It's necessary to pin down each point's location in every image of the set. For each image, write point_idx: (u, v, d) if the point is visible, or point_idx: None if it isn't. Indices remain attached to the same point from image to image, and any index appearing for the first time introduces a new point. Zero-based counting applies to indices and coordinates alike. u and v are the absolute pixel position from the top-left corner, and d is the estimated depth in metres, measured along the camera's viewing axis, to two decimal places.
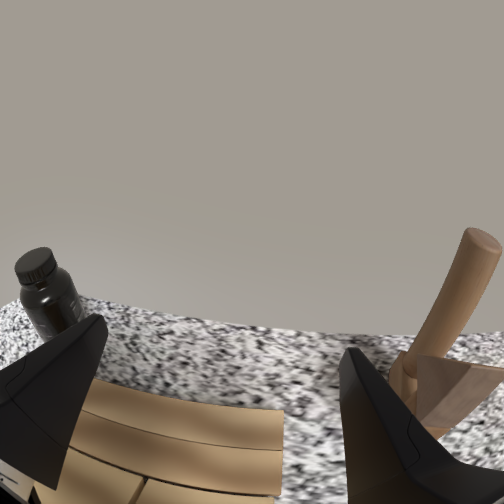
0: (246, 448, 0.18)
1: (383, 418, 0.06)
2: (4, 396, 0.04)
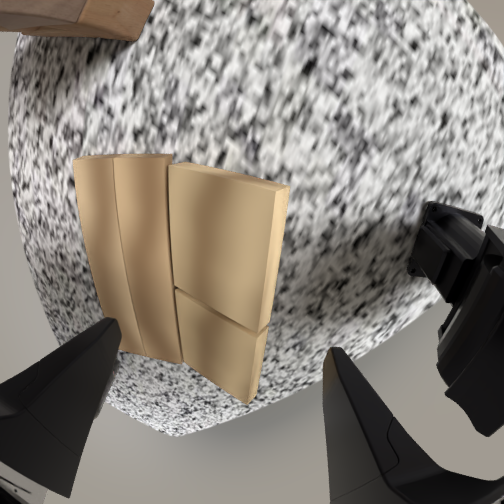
0: (115, 196, 0.18)
1: (362, 420, 0.06)
2: (18, 405, 0.04)
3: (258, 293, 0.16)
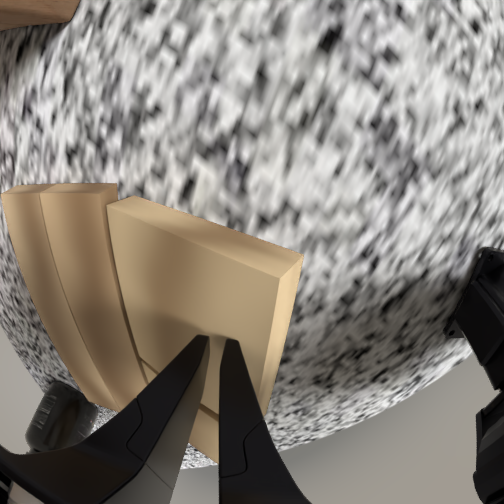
0: (50, 244, 0.12)
1: (221, 416, 0.06)
2: (131, 460, 0.04)
3: None
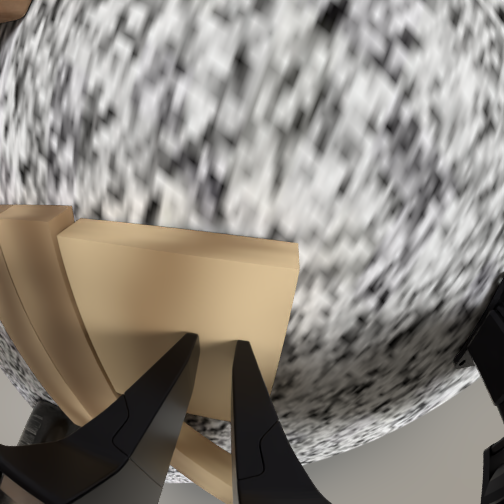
0: (10, 274, 0.09)
1: (236, 418, 0.06)
2: (116, 455, 0.04)
3: None
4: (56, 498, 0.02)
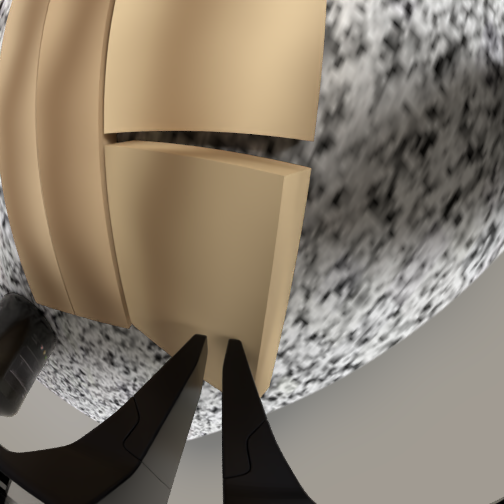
0: (47, 11, 0.06)
1: (225, 416, 0.06)
2: (128, 459, 0.04)
3: (313, 50, 0.07)
4: None
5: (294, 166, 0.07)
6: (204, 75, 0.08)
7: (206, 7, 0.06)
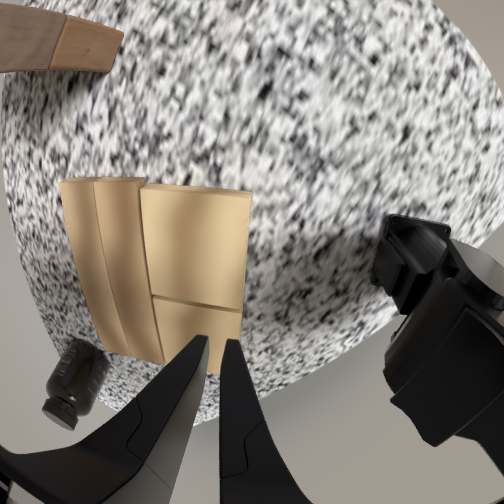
0: (97, 215, 0.20)
1: (222, 416, 0.06)
2: (131, 460, 0.04)
3: (238, 277, 0.21)
4: None
5: None
6: (195, 282, 0.22)
7: (191, 252, 0.21)
